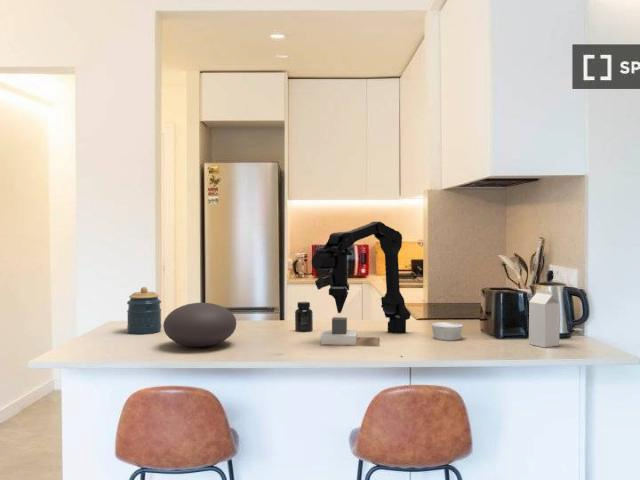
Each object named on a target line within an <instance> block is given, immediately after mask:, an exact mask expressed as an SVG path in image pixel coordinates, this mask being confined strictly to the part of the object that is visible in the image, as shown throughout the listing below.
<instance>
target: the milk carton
mask: <svg viewBox="0 0 640 480" xmlns="http://www.w3.org/2000/svg"><path fill="white" fill-rule="evenodd" d="M535 291H536V292H535V294H534V295H533V296H532V298H531V299H530V300H529V302H528V315H529V316H528V344H529V345H530V346H531V345H532V346H536V347H541V348H550V347H552V348H553V347H558V346H560V315H561V314H560V309H561V307H560V305H561V304H560V302H559V300H558V299H557V298H556V297H555V296H554V292H553V291H549V290H548V291H547V290H543V289H542V290H541V289H536V290H535Z"/></svg>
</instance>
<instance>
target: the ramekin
mask: <svg viewBox="0 0 640 480" xmlns="http://www.w3.org/2000/svg"><path fill="white" fill-rule="evenodd" d="M431 328H432V334H433V337H434V338H435V340H438V341H448V342H449V341H458V340H460V338H461V336H462V333H463V328H464V325H463V324H460V323H457V322H451V321H450V322H446V321H440V322H439V321H438V322H433V323H431Z"/></svg>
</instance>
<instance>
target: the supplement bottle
mask: <svg viewBox="0 0 640 480" xmlns="http://www.w3.org/2000/svg"><path fill="white" fill-rule="evenodd" d="M296 307H297V309H295V311H294V313H295V314H294V328H295V329H294V331H295V332H297V333H310V332H313V329H314V328H313V327H314V326H313V325H314V323H313V322H314V319H313V317H314V315H313V313H314V312H313V309H311V302H309V301H298V302H297V306H296Z"/></svg>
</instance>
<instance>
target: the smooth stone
mask: <svg viewBox="0 0 640 480" xmlns="http://www.w3.org/2000/svg"><path fill="white" fill-rule="evenodd" d="M162 326H163V330H164V331H163V332H164V333H165V335H166V336H167V337H168V338H169V339H170V340H171V341H173V342H175V343H177V344H179V345H182V346H185V347H193V348H199V347H200V348H203V347H210V346H214V345H218V344H220V343H222V342H224V341H225V340H227V339H228V338H230V337H231V336H232V335H233V334H234V332H235V330H236V329H237V328H236V327H237V319H236V316H235V315H234V313H232V312H231V310H229V309H227V308H226V307H225V306H223V305H220V304H215V303H213V302H193V303H187V304H184V305H181V306H179V307H177V308H175V309H173V310H172V311H170V312H169V313H168V314H167V316H166V317H165V319H164V321H163V324H162Z"/></svg>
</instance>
